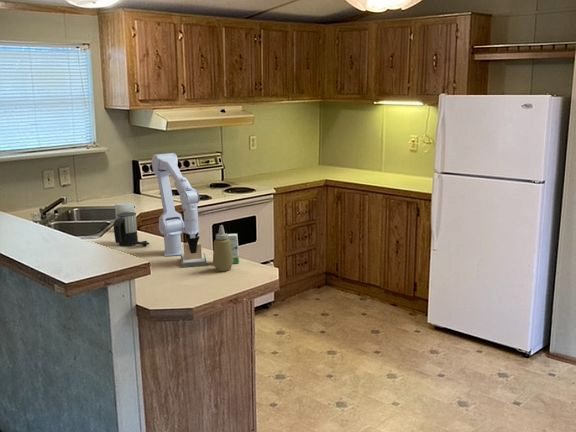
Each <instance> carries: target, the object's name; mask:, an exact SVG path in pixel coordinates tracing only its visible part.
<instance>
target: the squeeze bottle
mask: <svg viewBox="0 0 576 432" xmlns="http://www.w3.org/2000/svg"><path fill="white" fill-rule="evenodd" d="M228 234H229V233H227V232H226V233H225V229H224V225H223V224H221V225H220V224H219V228H218V233H216V234H215V239H214V240H213V251H212V253H213V254H212V262H213V265H214V268H215V270H216V271H218V272H227V271H231V270H232V267H233V264H232V263H233V255H232V249H231V242H230V240H229V239H227V238H228Z"/></svg>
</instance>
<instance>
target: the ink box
mask: <svg viewBox="0 0 576 432" xmlns="http://www.w3.org/2000/svg"><path fill="white" fill-rule="evenodd" d="M227 234H228V238H227V239H229V240H230V242H231V249H232V255H233V263H232V265H233V264H234V265H235V264H236V265H237V264H240V258H239V257H240V255H239V239H238V238H239V237H238V233H227Z"/></svg>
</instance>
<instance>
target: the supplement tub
mask: <svg viewBox="0 0 576 432" xmlns="http://www.w3.org/2000/svg"><path fill="white" fill-rule="evenodd" d="M114 210H115V211H114V212H115V213H114V214H115V220H116V219H118V218H117V214H119V213H124V212H135V204H134V202H131V201H121V202H117V203H115V205H114Z"/></svg>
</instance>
